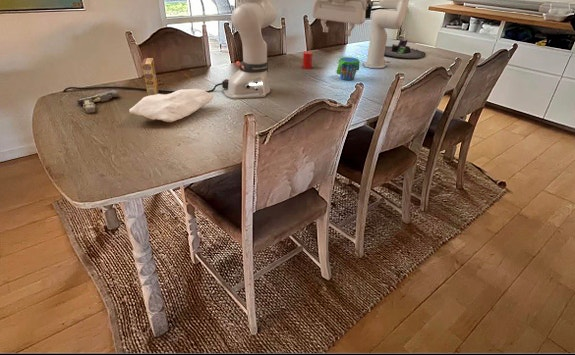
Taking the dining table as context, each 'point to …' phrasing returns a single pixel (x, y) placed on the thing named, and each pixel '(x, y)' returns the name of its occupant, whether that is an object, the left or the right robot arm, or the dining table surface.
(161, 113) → the crumpled cloth
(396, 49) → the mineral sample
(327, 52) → the dining table surface
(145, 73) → the candy box
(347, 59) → the snack cup
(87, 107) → the handgun
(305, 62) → the canister
